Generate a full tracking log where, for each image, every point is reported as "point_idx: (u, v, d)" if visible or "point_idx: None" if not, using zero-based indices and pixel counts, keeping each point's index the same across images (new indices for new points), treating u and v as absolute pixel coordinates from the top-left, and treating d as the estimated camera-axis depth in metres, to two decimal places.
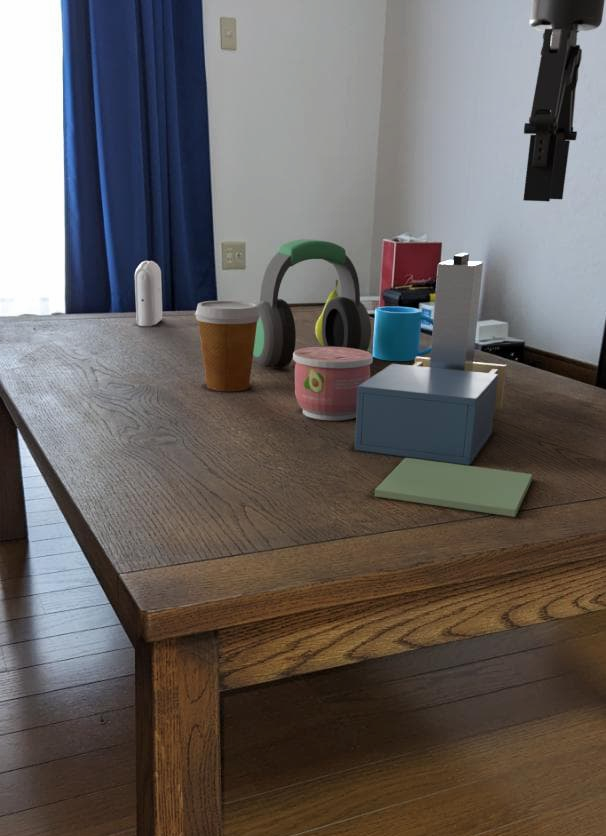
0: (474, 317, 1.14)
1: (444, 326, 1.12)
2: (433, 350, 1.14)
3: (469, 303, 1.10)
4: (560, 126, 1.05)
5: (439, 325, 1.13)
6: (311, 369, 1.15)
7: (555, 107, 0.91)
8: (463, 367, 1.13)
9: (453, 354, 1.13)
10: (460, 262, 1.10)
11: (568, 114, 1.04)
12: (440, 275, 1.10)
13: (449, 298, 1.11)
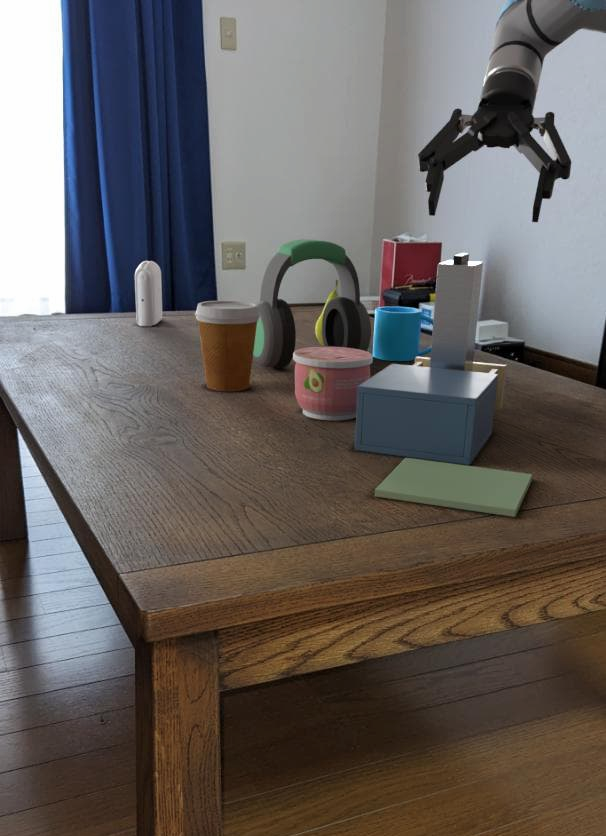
0: (474, 317, 1.14)
1: (444, 326, 1.12)
2: (433, 350, 1.14)
3: (469, 303, 1.10)
4: (540, 165, 1.19)
5: (439, 325, 1.13)
6: (311, 369, 1.15)
7: (423, 149, 1.22)
8: (463, 367, 1.13)
9: (453, 354, 1.13)
10: (460, 262, 1.10)
11: (534, 153, 1.19)
12: (440, 275, 1.10)
13: (449, 298, 1.11)
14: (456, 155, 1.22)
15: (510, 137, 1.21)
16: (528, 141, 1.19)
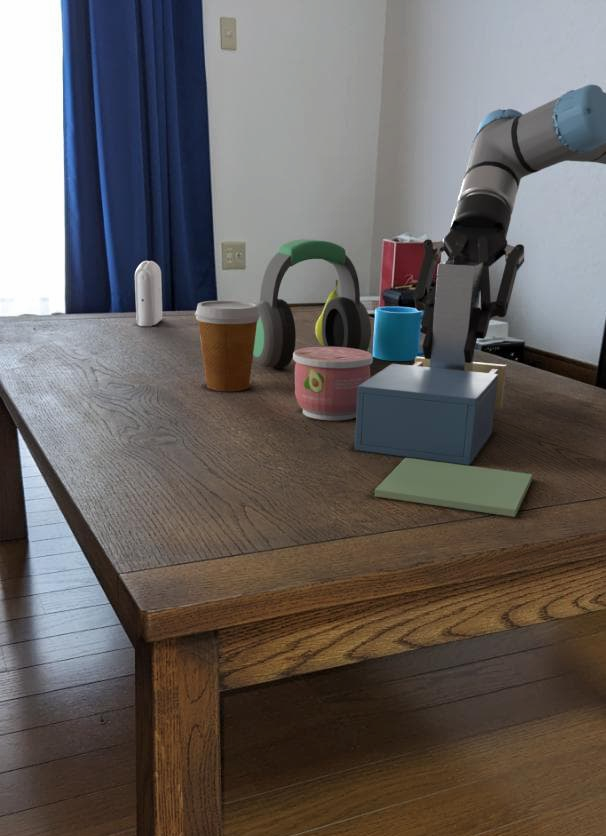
0: None
1: (444, 326, 1.12)
2: (433, 350, 1.14)
3: (469, 303, 1.10)
4: None
5: (439, 325, 1.13)
6: (311, 369, 1.15)
7: (415, 289, 1.17)
8: (463, 367, 1.13)
9: (453, 354, 1.13)
10: (460, 262, 1.10)
11: (480, 286, 1.15)
12: (440, 275, 1.10)
13: (449, 298, 1.11)
14: None
15: None
16: (482, 271, 1.15)
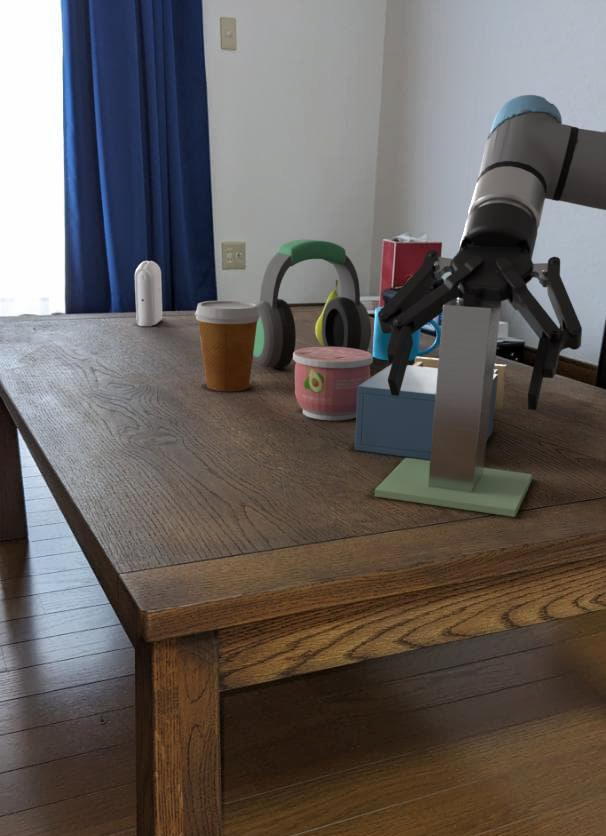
0: (490, 372, 0.88)
1: (451, 384, 0.86)
2: (437, 415, 0.88)
3: (484, 356, 0.84)
4: (540, 331, 0.88)
5: (444, 384, 0.87)
6: (311, 369, 1.15)
7: (385, 305, 0.92)
8: (476, 438, 0.87)
9: (463, 420, 0.87)
10: (472, 303, 0.84)
11: (532, 315, 0.88)
12: (446, 320, 0.84)
13: (457, 349, 0.85)
14: (429, 313, 0.92)
15: (500, 291, 0.90)
16: (524, 298, 0.89)
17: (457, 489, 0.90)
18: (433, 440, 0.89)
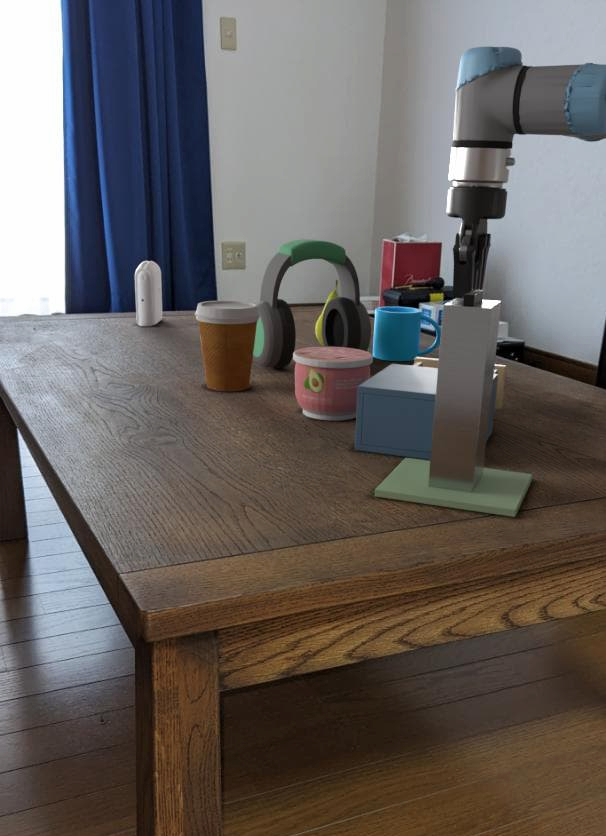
0: (490, 372, 0.88)
1: (451, 384, 0.86)
2: (437, 415, 0.88)
3: (484, 356, 0.84)
4: None
5: (444, 384, 0.87)
6: (311, 368, 1.15)
7: None
8: (476, 438, 0.87)
9: (463, 420, 0.87)
10: (472, 303, 0.84)
11: None
12: (446, 320, 0.84)
13: (457, 349, 0.85)
14: None
15: None
16: None
17: (457, 489, 0.90)
18: (433, 440, 0.89)
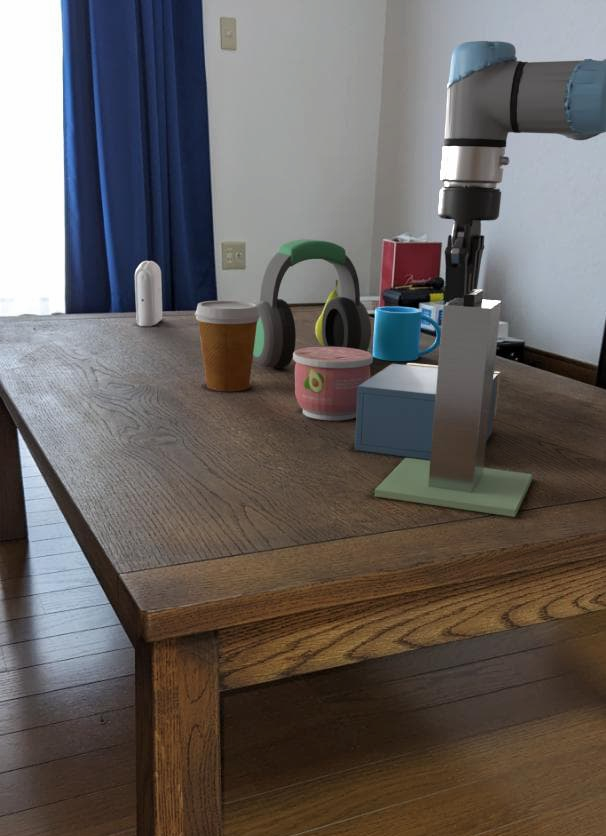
0: (490, 372, 0.88)
1: (451, 384, 0.86)
2: (437, 415, 0.88)
3: (484, 356, 0.84)
4: None
5: (444, 384, 0.87)
6: (311, 369, 1.15)
7: None
8: (476, 438, 0.87)
9: (463, 420, 0.87)
10: (472, 303, 0.84)
11: None
12: (446, 320, 0.84)
13: (457, 349, 0.85)
14: None
15: None
16: None
17: (457, 489, 0.90)
18: (433, 440, 0.89)
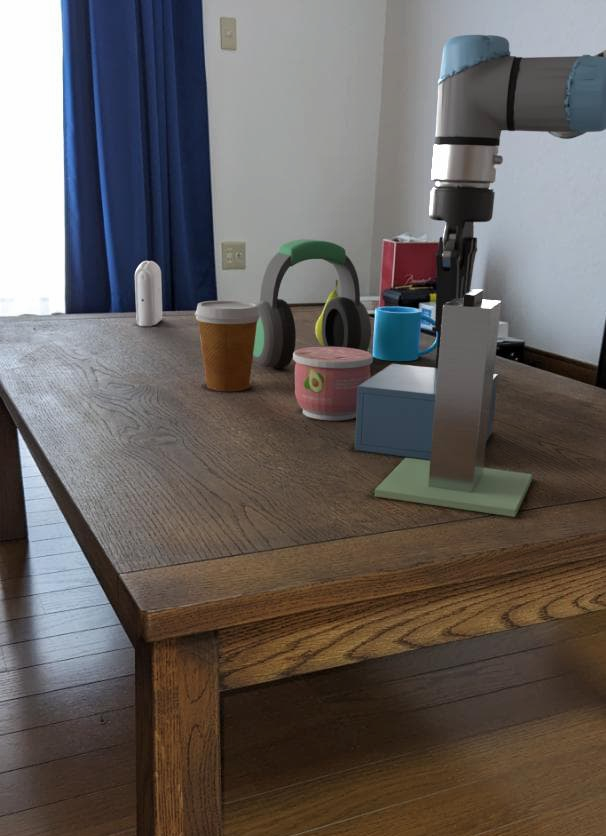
0: (490, 372, 0.88)
1: (451, 384, 0.86)
2: (437, 415, 0.88)
3: (484, 356, 0.84)
4: None
5: (444, 384, 0.87)
6: (311, 369, 1.15)
7: None
8: (476, 438, 0.87)
9: (463, 420, 0.87)
10: (472, 303, 0.84)
11: None
12: (446, 320, 0.84)
13: (457, 349, 0.85)
14: None
15: None
16: None
17: (457, 489, 0.90)
18: (433, 440, 0.89)
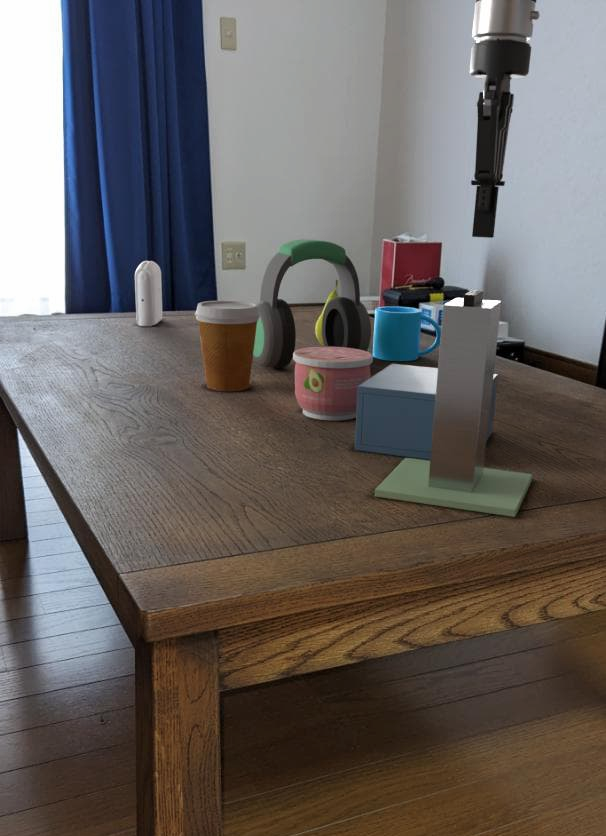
0: (490, 372, 0.88)
1: (451, 384, 0.86)
2: (437, 415, 0.88)
3: (484, 356, 0.84)
4: None
5: (444, 384, 0.87)
6: (311, 369, 1.15)
7: None
8: (476, 438, 0.87)
9: (463, 420, 0.87)
10: (472, 303, 0.84)
11: None
12: (446, 320, 0.84)
13: (457, 349, 0.85)
14: None
15: None
16: None
17: (457, 489, 0.90)
18: (433, 440, 0.89)
